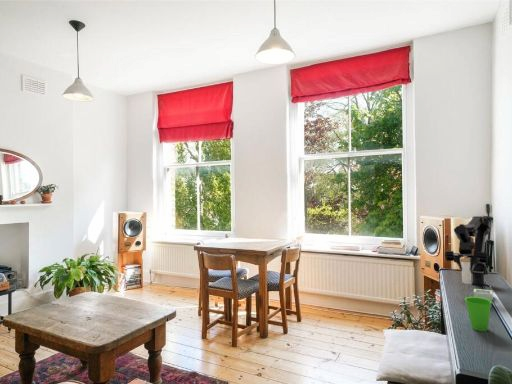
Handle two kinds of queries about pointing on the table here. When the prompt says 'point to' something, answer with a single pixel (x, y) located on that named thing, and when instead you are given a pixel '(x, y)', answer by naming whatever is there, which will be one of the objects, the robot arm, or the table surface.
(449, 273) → the table surface
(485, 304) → the cup
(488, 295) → the frame
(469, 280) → the cell
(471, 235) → the robot arm
